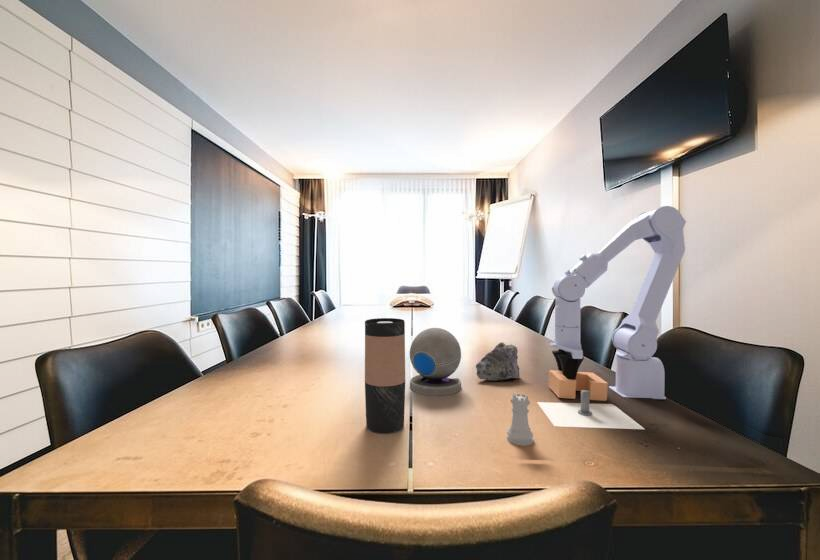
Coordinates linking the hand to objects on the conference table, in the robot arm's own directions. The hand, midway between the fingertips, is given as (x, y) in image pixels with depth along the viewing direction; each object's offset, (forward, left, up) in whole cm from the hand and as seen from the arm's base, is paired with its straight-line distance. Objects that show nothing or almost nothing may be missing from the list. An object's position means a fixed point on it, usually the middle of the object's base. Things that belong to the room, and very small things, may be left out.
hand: (567, 381), depth 91 cm
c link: (-1, +3, -2) cm, 4 cm away
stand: (+2, +16, -2) cm, 16 cm away
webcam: (+32, -1, -3) cm, 32 cm away
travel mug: (+41, +24, -3) cm, 47 cm away
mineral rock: (+15, -10, -3) cm, 18 cm away
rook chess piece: (+17, +29, -3) cm, 33 cm away
